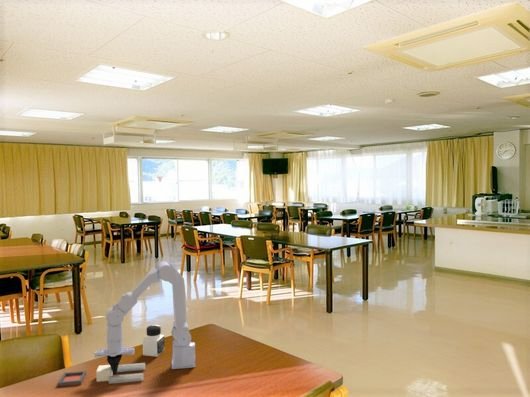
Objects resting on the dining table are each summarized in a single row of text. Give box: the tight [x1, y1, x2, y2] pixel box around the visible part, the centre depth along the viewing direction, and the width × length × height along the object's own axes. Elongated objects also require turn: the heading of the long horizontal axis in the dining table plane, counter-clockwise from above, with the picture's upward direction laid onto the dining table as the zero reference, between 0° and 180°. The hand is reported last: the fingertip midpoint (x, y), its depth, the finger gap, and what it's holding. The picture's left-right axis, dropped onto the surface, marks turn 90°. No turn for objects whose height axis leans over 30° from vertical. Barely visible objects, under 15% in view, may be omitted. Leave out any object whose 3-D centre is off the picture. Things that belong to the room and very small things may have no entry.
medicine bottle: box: [142, 324, 166, 358], centre depth 182 cm, size 7×7×12 cm
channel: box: [108, 362, 146, 385], centre depth 161 cm, size 12×10×2 cm
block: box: [95, 364, 114, 382], centre depth 159 cm, size 5×5×4 cm
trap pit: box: [57, 370, 87, 387], centre depth 157 cm, size 8×8×1 cm
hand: (115, 373), depth 160 cm, fingers closed
